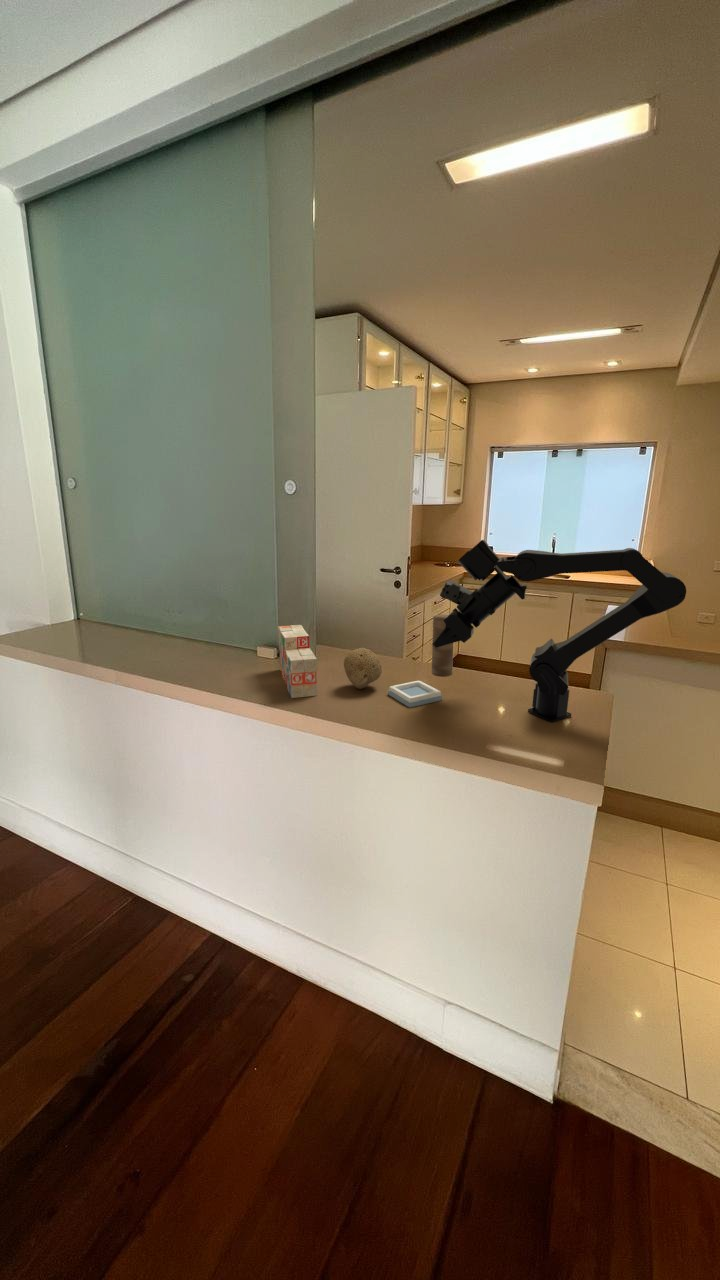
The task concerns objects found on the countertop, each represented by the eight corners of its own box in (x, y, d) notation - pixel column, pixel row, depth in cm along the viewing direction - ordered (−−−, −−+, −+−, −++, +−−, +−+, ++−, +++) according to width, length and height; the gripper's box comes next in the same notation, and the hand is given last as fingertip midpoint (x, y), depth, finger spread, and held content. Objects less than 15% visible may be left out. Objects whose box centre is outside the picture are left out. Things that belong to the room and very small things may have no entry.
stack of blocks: (317, 696, 120) (316, 645, 117) (290, 699, 118) (289, 647, 115) (302, 667, 140) (301, 623, 136) (279, 669, 138) (277, 625, 135)
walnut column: (456, 673, 116) (458, 616, 113) (444, 678, 113) (446, 620, 109) (439, 668, 119) (441, 613, 116) (427, 673, 116) (429, 617, 112)
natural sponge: (375, 680, 130) (375, 642, 127) (386, 692, 122) (387, 652, 119) (340, 683, 128) (340, 644, 125) (349, 696, 120) (349, 655, 117)
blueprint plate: (442, 699, 118) (442, 691, 117) (409, 707, 113) (409, 699, 113) (419, 687, 125) (419, 679, 125) (387, 694, 121) (387, 686, 120)
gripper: (471, 563, 117) (422, 607, 123) (456, 574, 100) (400, 625, 107) (504, 599, 116) (453, 642, 123) (495, 617, 99) (437, 665, 106)
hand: (436, 642), depth 115 cm, fingers closed on walnut column, 5 cm apart
